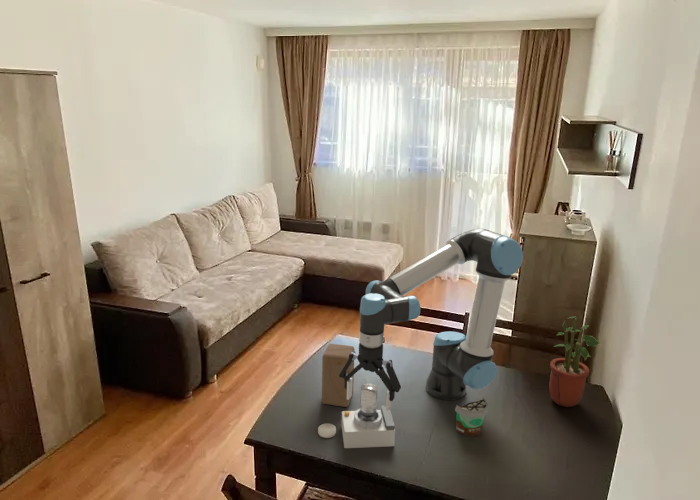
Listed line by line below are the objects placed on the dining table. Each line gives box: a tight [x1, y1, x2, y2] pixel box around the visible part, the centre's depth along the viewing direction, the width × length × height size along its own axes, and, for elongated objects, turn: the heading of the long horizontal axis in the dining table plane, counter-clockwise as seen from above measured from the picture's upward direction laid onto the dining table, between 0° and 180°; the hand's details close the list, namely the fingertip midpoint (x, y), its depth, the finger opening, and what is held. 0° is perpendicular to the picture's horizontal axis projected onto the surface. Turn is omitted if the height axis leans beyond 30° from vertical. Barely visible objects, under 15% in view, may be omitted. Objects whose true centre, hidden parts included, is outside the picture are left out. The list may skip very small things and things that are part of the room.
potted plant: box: [548, 315, 601, 408], centre depth 183 cm, size 17×16×35 cm
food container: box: [454, 397, 489, 437], centre depth 166 cm, size 12×6×10 cm, turn 117°
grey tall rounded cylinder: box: [359, 383, 378, 422], centre depth 160 cm, size 5×5×12 cm
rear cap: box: [317, 422, 337, 439], centre depth 165 cm, size 6×6×2 cm
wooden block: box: [321, 343, 356, 408], centre depth 181 cm, size 10×10×20 cm
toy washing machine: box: [340, 405, 396, 449], centre depth 163 cm, size 16×11×8 cm
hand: (368, 402), depth 160 cm, fingers open, 13 cm apart
